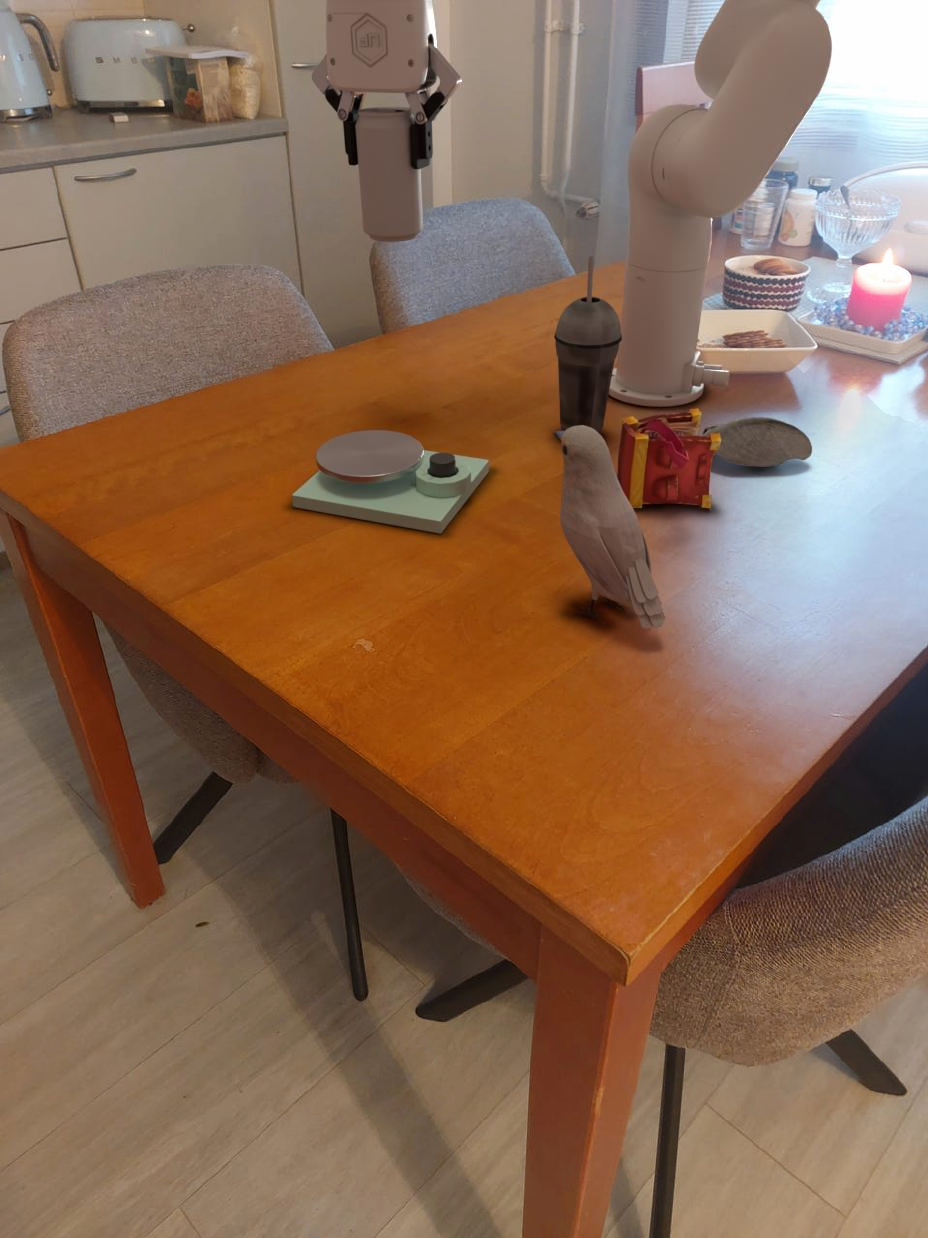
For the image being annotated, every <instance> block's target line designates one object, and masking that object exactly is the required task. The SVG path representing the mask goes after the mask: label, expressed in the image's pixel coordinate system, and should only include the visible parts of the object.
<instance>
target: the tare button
mask: <svg viewBox="0 0 928 1238" xmlns="http://www.w3.org/2000/svg"><path fill="white" fill-rule="evenodd" d="M454 455H455V454H452V453H451V452H439V453H436V454H433V455H432V456H430V459H429V461H430V475H431V476H433V477H437V478H448V477H452V476H454V475H455V474H456V458H455V456H454Z"/></svg>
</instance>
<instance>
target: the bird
mask: <svg viewBox="0 0 928 1238" xmlns="http://www.w3.org/2000/svg"><path fill="white" fill-rule="evenodd" d="M552 434H553V435H554V436H555V438H556V439H557V440H559V442H560V443H561V454H562V459H563V467H562V468H563V469H562V487H561V501H560V510H559V521H560V528H561V530H562V533H563V535H564V537H565V540H566V541H567V543H568V545H569V547H570V549H571V551H572V553H573V555H574V556H575V558H576V559H577V560H578V562H579V563H580V565H581V566H582V568H583V571H584V573H585V575H586V576H587V578H588V579H589V581H590V585H591V600H590V605H589V607H588V608H587V607H585V606H580V607H579V609H582V610H581V611H577V612H575V613H573V614H572V615H573V616H574V615H582V616H585V617H587V618H588V619H592V620H593V619H596V620H598V621H599V622H600V623H601V624H602V625H604V621H603V619H602V617H600V616H599V615H597V613H596V611H595V610H594V609H595V608H594V607H595V602H596V601H597V600H598V599H599V597H600V596H601V599H605V600H602V601H599V602H597V603H596V605H599V604H600V605H601V604H604V605H607V606H608V607H610V608H611V609H620V610H622V611H623V612H624V614H627V612H626V610H625V608H624V607H623V606H625V607H627V608H628V609H631V610H633V611H634V612H635V614H636V615H637V617H638V621H639V623H640V625H641V627H642V629H649V628H651V627H653V628H654V629H659V628H661V627H663V625H664V621H665V620H666V616H665V613H664V611H663V607H662V601H661V598H660V596H659V591H658V588H657V585H656V583H655V580H654V578H653V575H652V563H651V556H650V551H649V547H648V543H647V540H646V538H645V537H646V536H645V534H644V532H643V530H642V527H641V525H640V523H639V520H638V516H637V513H636V512H635V510H634V508H632V506H631V504H630V503H629V501H628V499H627V497H626V496H625V494H624V492H623V490H622V488H621V486H620V483H619V481H618V479H617V473H616V471H615V468H614V464H613V461H612V457H611V453H610V450H609V447H608V445H607V442H606V440H605V439H604V437H603V436H602V435H600V434H599V433H598V432H597V431H596V430H594V429H593V428H590V427H587V426H584V425H580V426H573V427H570V428H569V429H567V430H566V431H561V430H557V431H553V432H552Z"/></svg>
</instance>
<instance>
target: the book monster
mask: <svg viewBox="0 0 928 1238" xmlns="http://www.w3.org/2000/svg"><path fill="white" fill-rule="evenodd" d="M701 420H702V412H701V411H700V409H699V408H690V409H689V411H686V412H685V411H684V412H675V413H674V412H673V413H663V414H655V415H652V416H647V417H642V418H639V419H636V418H635V416H628V417H625V418H621V429H620V438H619V447H618V455H617V456H618V457H617V473H616V476H617V479H618V481H619V483H620V486H621V488H622V490H623V492H624V494H625V496H626V497H627V499H628V501H629V503H630V504H631V506H632V508H633V509H642V508H643V505H659V504H661V505H662V504H680V505H681V504H682V505H695V506H699V507H700V508H703V509H711V508H712V495H711V494H710V483H711V471H712V465H713V460H714V456H715V455H714V452H715V450H719V447H720V444H721V437H720V433H710V436H701V435H698V432H699V431H700V429H701V427H699V426H701Z"/></svg>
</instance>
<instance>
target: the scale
mask: <svg viewBox="0 0 928 1238" xmlns="http://www.w3.org/2000/svg"><path fill="white" fill-rule="evenodd" d="M423 450H424V460H423V462H422V464H421V465H420V467H419V468H417V469H416V470H415V471H413V472H412V473H410V474H408V475H406V476H404V477H401V478H398V479H394V480H390V481H385V482H378V483H351V482H345V481H340V480H336V479H333V478H331V477H329V476H327V475H325V474H324V473H322V472H321V471H320V470H319V469H318V470H317V472H316V473H315V474H314V475H312V476H311V477H310V478H309V479H308V480H306V481H305V483H304V484H302V485H301V486H300V487H299V488H297V490H296V491H295V492H293V493H292V494H291V500H292V507H293V508H296V509H301V510H307V511H313V512H317V513H323V514H324V513H325V514H329V515H336V516H341V517H345V518H352V519H357V520H362V521H368V522H373V523H380V524H384V525H390V526H397V527H400V528H401V527H402V528H406V529H407V528H408V529H412V530H413V529H414V530H418V531H424V532H430V533H434V534H440V535H441V534H442V533H443V532H444V530H445V529H446V528H447V526H449V524H450V522H451V521H452V520H453V519H454V518H455V516H456V515H458V514H457V513H458V512H459V511H460V510H461V509H462V507H463V506H464V505H465V503H466V502H467V501H468V499H469V498H470V497H471V496H472V495H473V494H474V492H475V491H476V489H477V488H478V486H479V485H480V484H481V482H482V481H483V480H484V479H485V478H486V476H487V475H488V473H490V459H484V458H478V457H470V456H466V455H459V454H453V455H454V456H455V458H456V474H455V475H454V476H452V477H448V478H437V477H433V476H431V475H430V461H429V459H430V456H432V455H433V454H436V453H440V451H439V452H438V451H432V450H426V449H423Z"/></svg>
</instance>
